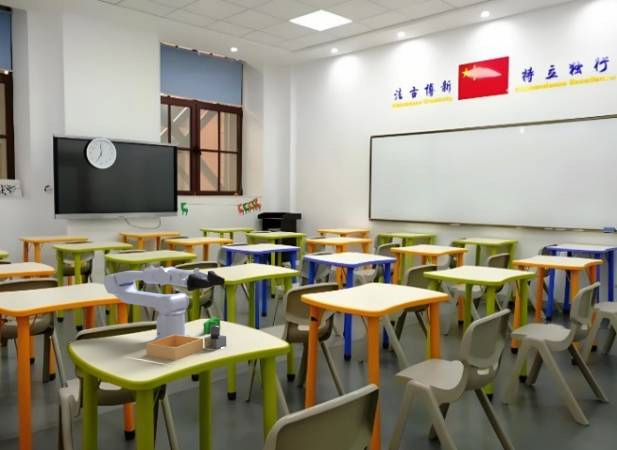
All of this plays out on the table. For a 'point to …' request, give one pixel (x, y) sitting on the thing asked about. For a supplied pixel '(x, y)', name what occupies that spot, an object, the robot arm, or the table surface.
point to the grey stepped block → (215, 339)
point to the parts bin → (174, 347)
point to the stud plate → (214, 349)
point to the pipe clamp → (210, 324)
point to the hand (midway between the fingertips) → (216, 283)
